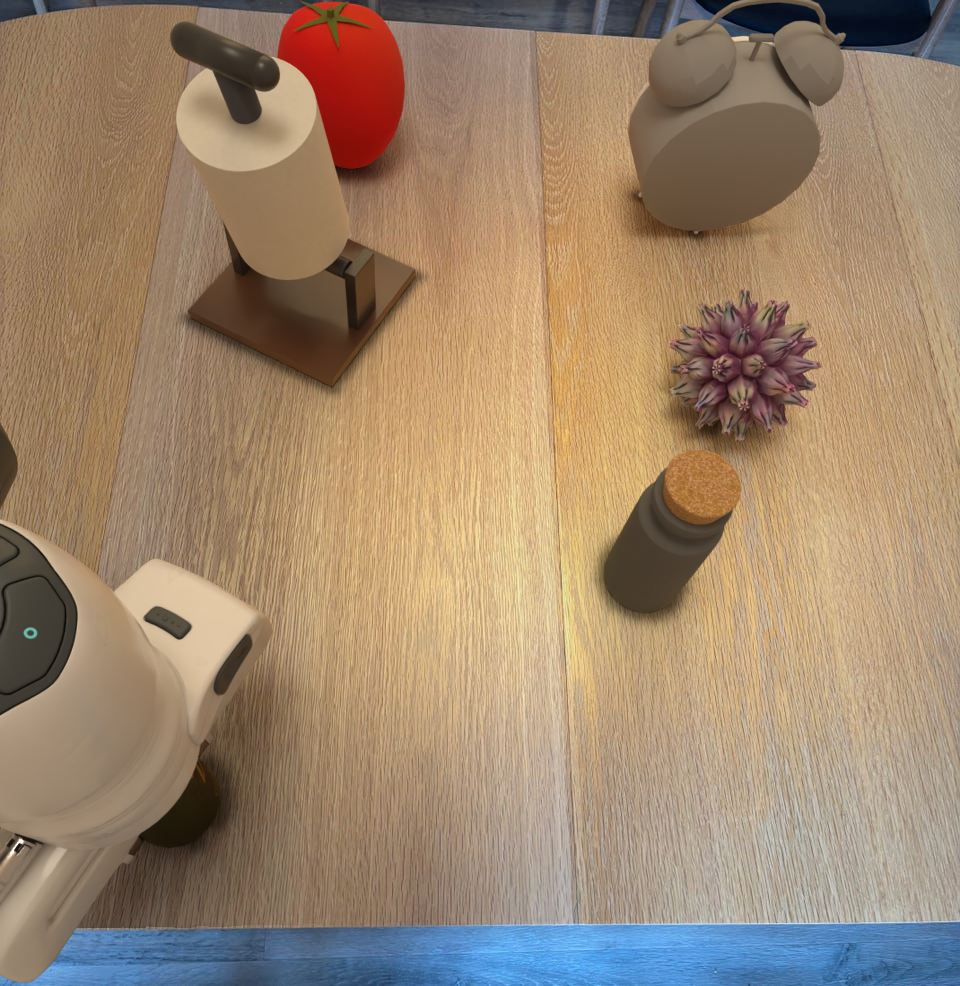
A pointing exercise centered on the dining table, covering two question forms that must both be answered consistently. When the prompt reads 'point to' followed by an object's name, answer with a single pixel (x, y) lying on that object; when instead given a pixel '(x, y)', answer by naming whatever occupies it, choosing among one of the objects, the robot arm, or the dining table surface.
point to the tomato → (348, 76)
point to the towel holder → (262, 156)
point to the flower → (743, 365)
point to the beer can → (188, 812)
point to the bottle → (672, 530)
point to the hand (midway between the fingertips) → (162, 791)
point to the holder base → (305, 309)
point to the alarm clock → (731, 118)
